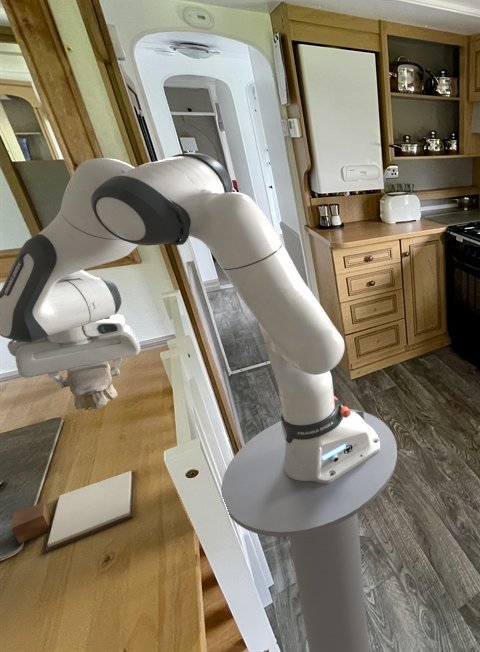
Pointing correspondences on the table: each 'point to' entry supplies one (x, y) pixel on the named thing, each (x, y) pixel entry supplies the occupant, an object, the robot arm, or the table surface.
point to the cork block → (31, 522)
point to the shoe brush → (91, 385)
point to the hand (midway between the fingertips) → (92, 380)
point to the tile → (91, 509)
